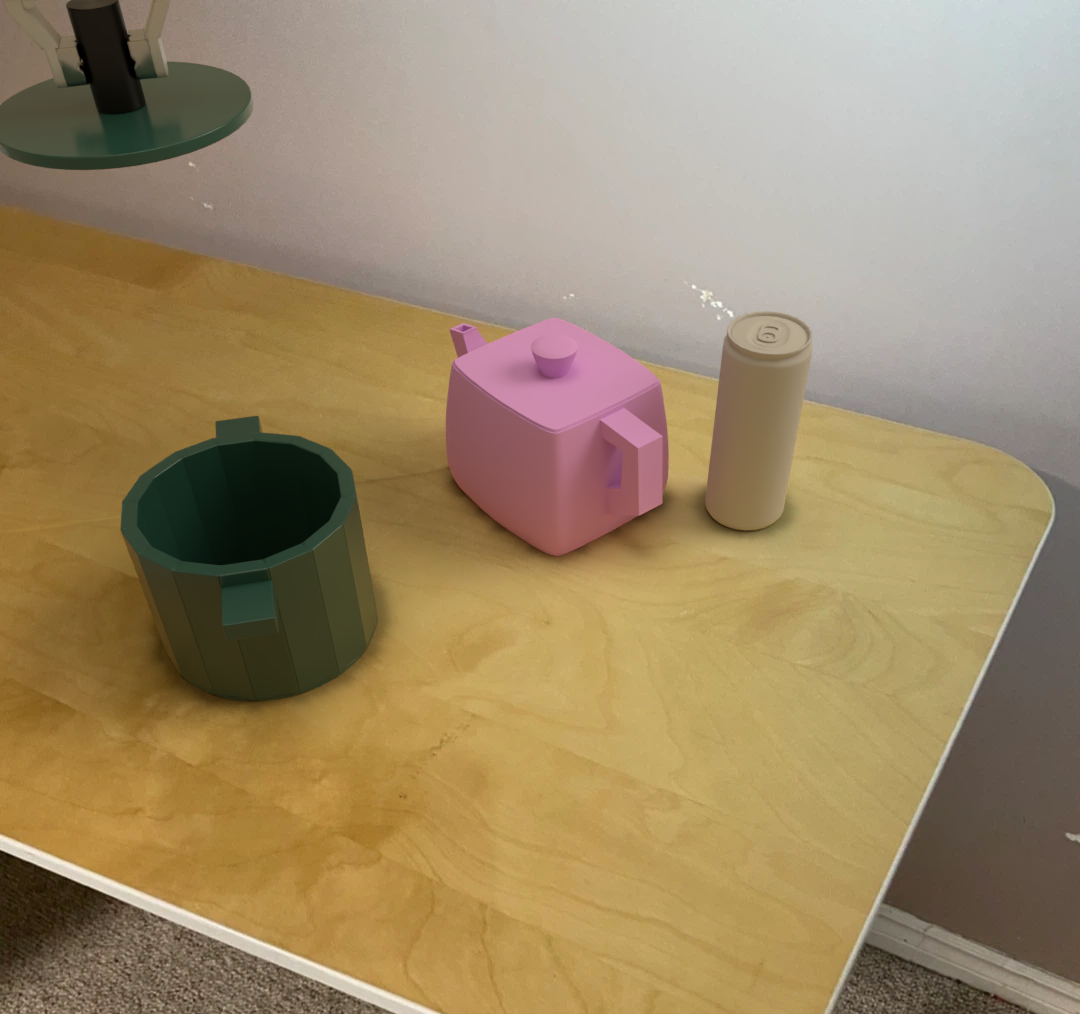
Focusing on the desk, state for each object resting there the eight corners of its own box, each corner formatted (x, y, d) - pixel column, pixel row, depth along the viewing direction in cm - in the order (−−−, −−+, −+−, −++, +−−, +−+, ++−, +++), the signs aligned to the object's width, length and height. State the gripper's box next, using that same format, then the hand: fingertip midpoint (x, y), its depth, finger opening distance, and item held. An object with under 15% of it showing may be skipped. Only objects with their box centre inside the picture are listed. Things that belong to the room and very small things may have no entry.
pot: (167, 759, 56) (113, 630, 50) (170, 549, 68) (126, 420, 61) (395, 721, 58) (372, 591, 51) (361, 521, 69) (339, 393, 62)
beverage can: (695, 527, 68) (715, 347, 59) (713, 482, 71) (735, 304, 62) (774, 542, 67) (806, 361, 58) (789, 495, 70) (822, 316, 61)
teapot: (403, 457, 74) (384, 311, 66) (528, 399, 78) (524, 256, 70) (580, 597, 64) (581, 446, 56) (711, 523, 68) (729, 372, 61)
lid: (-18, 198, 51) (-72, 60, 47) (10, 100, 60) (-33, -24, 56) (262, 166, 53) (234, 30, 49) (251, 74, 61) (226, -48, 57)
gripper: (264, -326, 48) (320, 37, 58) (-244, -295, 45) (-92, 79, 56) (272, -310, 44) (331, 78, 54) (-287, -275, 41) (-114, 125, 51)
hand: (113, 79), depth 55 cm, fingers closed on lid, 2 cm apart
